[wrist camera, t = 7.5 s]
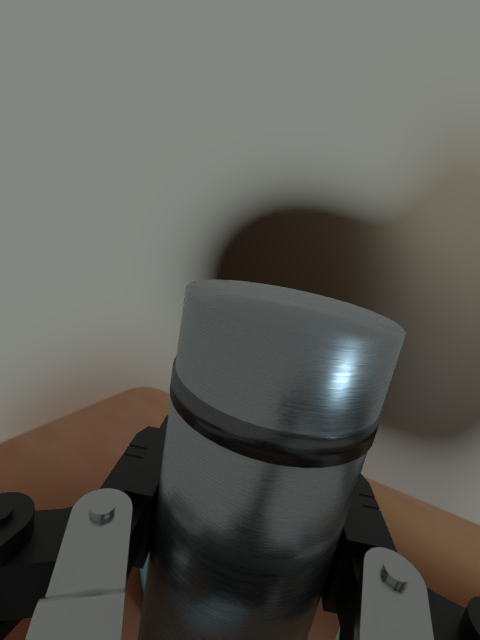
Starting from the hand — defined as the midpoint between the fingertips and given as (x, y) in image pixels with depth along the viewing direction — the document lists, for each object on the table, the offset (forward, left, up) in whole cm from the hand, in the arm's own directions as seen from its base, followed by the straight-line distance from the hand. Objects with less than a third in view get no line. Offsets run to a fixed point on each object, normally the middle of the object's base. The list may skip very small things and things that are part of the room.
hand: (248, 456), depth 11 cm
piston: (+2, +2, -8) cm, 8 cm away
